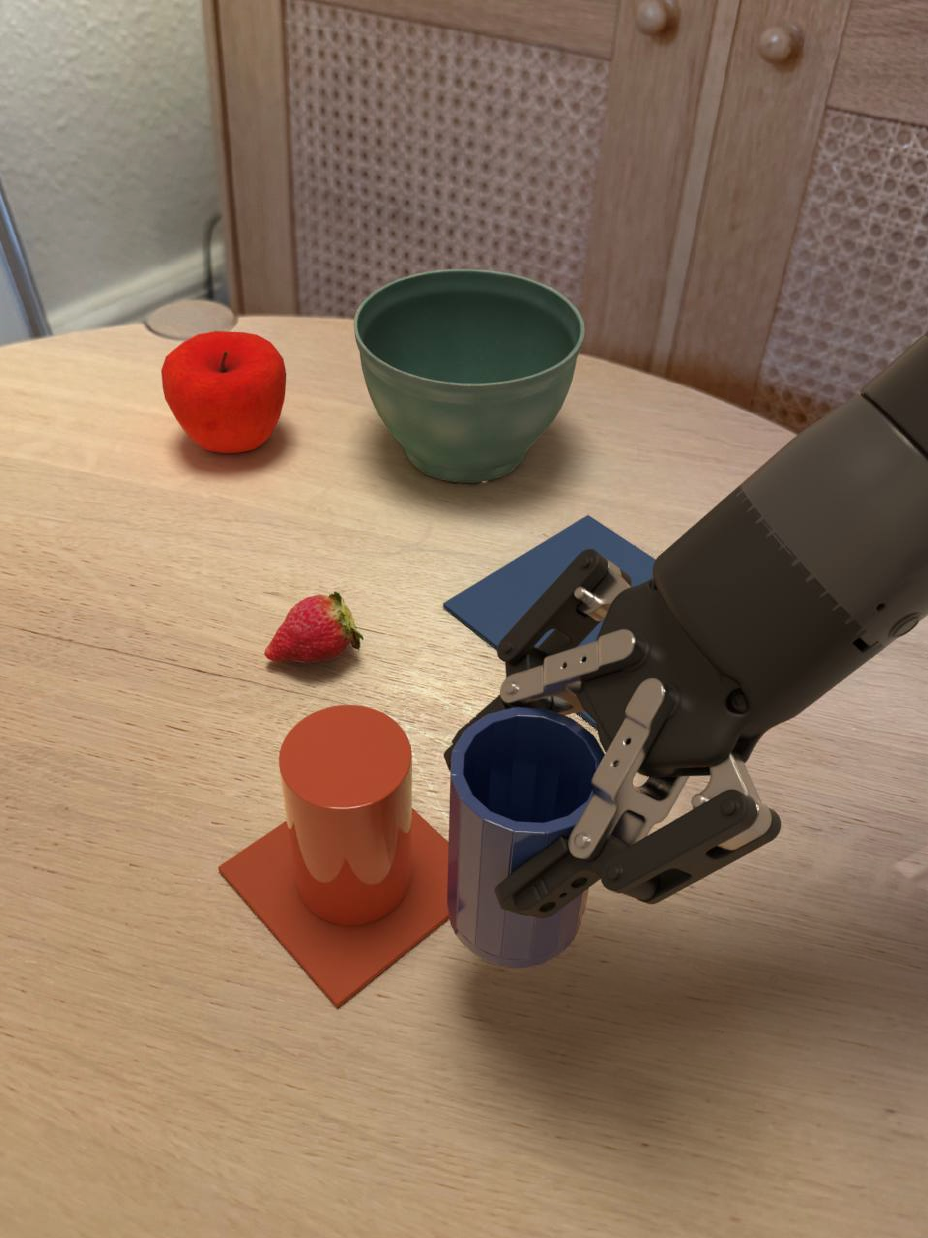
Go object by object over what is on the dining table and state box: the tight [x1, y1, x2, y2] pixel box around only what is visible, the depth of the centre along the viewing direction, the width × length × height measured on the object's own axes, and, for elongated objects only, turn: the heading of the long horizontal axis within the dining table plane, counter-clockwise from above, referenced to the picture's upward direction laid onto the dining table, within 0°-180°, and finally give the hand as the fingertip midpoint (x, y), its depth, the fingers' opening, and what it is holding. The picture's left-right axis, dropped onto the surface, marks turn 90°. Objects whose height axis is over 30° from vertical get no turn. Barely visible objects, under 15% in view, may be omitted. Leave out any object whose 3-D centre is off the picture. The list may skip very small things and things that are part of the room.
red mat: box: [217, 807, 449, 1009], centre depth 56 cm, size 10×10×1 cm
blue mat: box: [442, 514, 657, 730], centre depth 71 cm, size 14×14×1 cm
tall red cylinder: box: [278, 704, 413, 926], centre depth 52 cm, size 6×6×10 cm
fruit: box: [263, 591, 364, 664], centre depth 66 cm, size 4×6×5 cm
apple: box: [160, 330, 287, 454], centre depth 80 cm, size 9×9×8 cm
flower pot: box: [353, 268, 585, 484], centre depth 79 cm, size 16×16×11 cm
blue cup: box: [447, 707, 606, 969], centre depth 45 cm, size 6×6×10 cm
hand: (484, 833), depth 43 cm, fingers closed on blue cup, 6 cm apart
